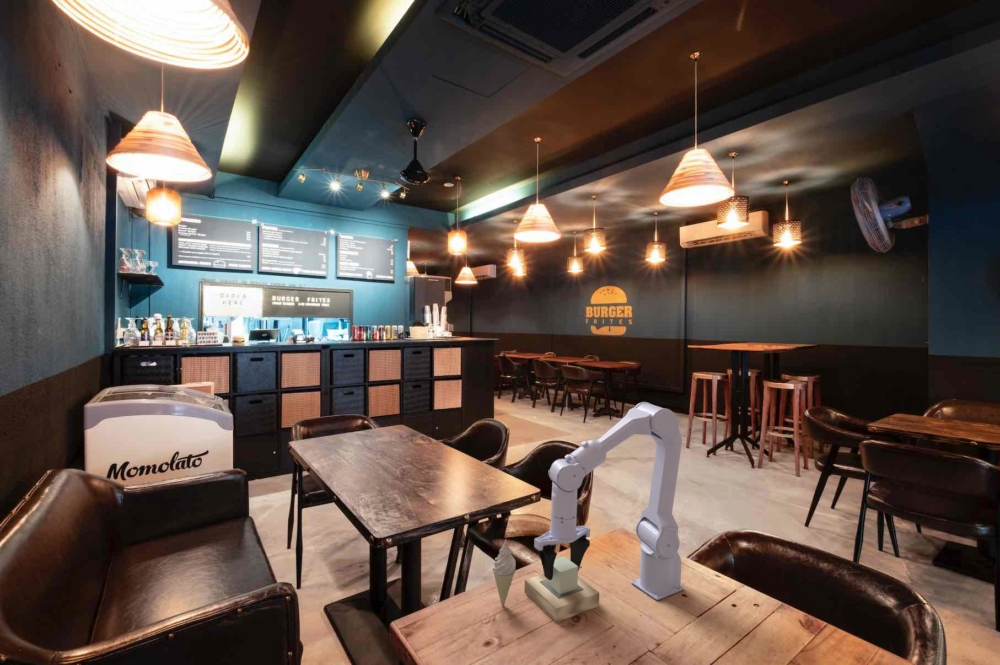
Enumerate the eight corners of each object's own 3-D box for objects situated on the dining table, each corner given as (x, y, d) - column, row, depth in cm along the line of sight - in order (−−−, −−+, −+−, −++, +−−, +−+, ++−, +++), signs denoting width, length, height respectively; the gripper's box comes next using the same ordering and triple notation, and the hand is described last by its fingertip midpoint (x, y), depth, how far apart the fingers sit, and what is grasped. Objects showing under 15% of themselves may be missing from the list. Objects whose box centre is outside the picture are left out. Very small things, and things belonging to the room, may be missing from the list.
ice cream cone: (512, 614, 97) (514, 545, 96) (489, 611, 98) (491, 542, 97) (516, 600, 101) (518, 534, 101) (494, 597, 102) (496, 532, 102)
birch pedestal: (565, 578, 111) (565, 566, 111) (599, 606, 101) (599, 591, 100) (524, 592, 105) (524, 578, 105) (556, 622, 94) (556, 607, 94)
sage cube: (563, 577, 106) (564, 556, 106) (577, 588, 101) (578, 566, 101) (546, 582, 103) (547, 561, 103) (559, 594, 99) (560, 572, 99)
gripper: (577, 502, 109) (575, 557, 110) (527, 513, 102) (525, 572, 102) (597, 513, 103) (595, 571, 104) (545, 526, 96) (543, 589, 96)
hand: (561, 573), depth 103 cm, fingers open, 7 cm apart
